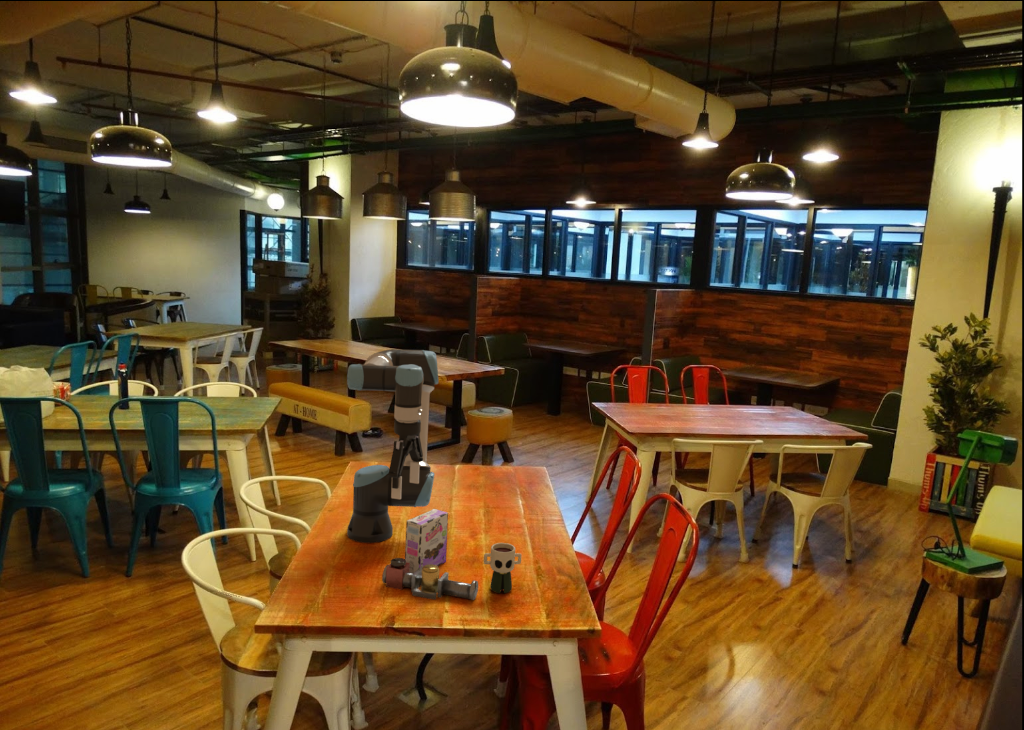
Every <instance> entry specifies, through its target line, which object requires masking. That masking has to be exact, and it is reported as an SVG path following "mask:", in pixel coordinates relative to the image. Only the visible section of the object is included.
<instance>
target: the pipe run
mask: <svg viewBox="0 0 1024 730" xmlns="http://www.w3.org/2000/svg"><path fill="white" fill-rule="evenodd" d="M409 570H410V563H407V562H406V560H405V558H402V557H395V558H392V559H391V560H390V563H389V564H386V566H385V567H384V569H383V572H382V574H381V580H382V583H383V584H385V587H386V588H391V589H397V590H400V591H401V590H403V589H404V588H411V589H410V590H411V591H410V592H411V593H412V596H413V597H419V598H423V599H428V600H429V599H430V600H437V598H442V597H443V596H444V595H447V596H452V597H456V598H461V599H462V598H463V599H468V600H471V601H475V599H476V598H477V595H478V592H479V582H478V580H475V579H474V580H472V581H471V583H468V582H467V583H466V582H462V581H458V580H457V581H456V580H451V579H449V572H446V571H445V572H444V573H443V574H442V575H441V577H439V580H438V593H433V592H428V591H423V590H421V589H420V588H421V578H422V568H419V569H418V570H417V571H416V572H415V573H414V574H413V573H409Z"/></svg>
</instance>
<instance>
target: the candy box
mask: <svg viewBox="0 0 1024 730" xmlns="http://www.w3.org/2000/svg"><path fill="white" fill-rule="evenodd" d="M448 518H449V512H447V511H444V510H441V509H436V508H432V509H431V510H428V511H427V512H424V513H421V514H420V515H417V516H415V517H412V518H410V519H407V520H406V525H405V528H406V529H405V547H404V548H405V550H404V551H405V552H404V553H405V554H404V559H405V560H406V562H407V563H410V570H409V573H413V574H414V573H415V572H416V571H417V570H418V569H419V568H423V566H425V565H428V564H434V565H437V566H438V567H439V566H441V565H443V564H444V563H446V562H447V549H448V547H447V546H448V545H447V543H448V524H449V523H448V521H449V520H448Z"/></svg>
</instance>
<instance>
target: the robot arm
mask: <svg viewBox="0 0 1024 730" xmlns="http://www.w3.org/2000/svg"><path fill="white" fill-rule="evenodd" d="M438 370H439V369H438V359H437V353H435V352H434V351H432V350H431V351H430V350H424V349H397V348H395V349H394V348H393V349H386V350H381V351H378V352H375V353H373V354H371V355H369V356H368V357H367V358H366V360H365V362H364V363H363V364H361V363H358V364H353V363H352V364H350V365H349V366H348V368H347V375H346V378H347V380H346V381H347V383H346V384H347V387H348V389H349V390H355V391H356V390H357V391H379V392H380V391H383V392H395V393H394V395H395V396H394V398H395V399H394V400H395V402H394V413H393V414H394V415H393V416H394V419H395V420H394V421H393V422H394V425H393V432H394V433H395V434H396V435H398V436H399V438H398V440H394V442H393V450H392V454H391V460H390V464H389V466H388V465H384V464H372V465H369V466H368V465H367V466H365V467H361V468H360V469H358V470H357V471H356V472H355V473H354V476H353V482H352V487H353V494H352V495H353V501H352V503H353V504H352V515H351V517H350V520H349V523H348V525H347V531H346V532H347V533H346V534H347V535H346V536H347V538H348V539H350V540H351V541H353V542H357V543H362V544H363V543H364V544H366V543H367V544H369V543H370V544H371V543H380V542H385V541H387V540H389V539H390V538H392V536H393V534H394V533H393V531H394V530H393V529H394V527H393V524H392V521H391V517H390V515H389V507H406V508H407V507H408V508H409V507H411V508H417V507H427V506H429V504H430V501H431V497H432V491H433V488H434V487H433V485H434V481H435V472H433V471H431V465H430V464H428V461H427V458H428V456H427V455H428V440H429V439H428V434H429V416H430V415H429V412H430V396H431V395H430V394H431V393H432V391H434V390H435V385H438V384H439V380H440V379H439V371H438Z"/></svg>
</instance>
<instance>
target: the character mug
mask: <svg viewBox="0 0 1024 730" xmlns="http://www.w3.org/2000/svg"><path fill="white" fill-rule="evenodd" d="M488 557H490V559H489V560H488ZM516 557H517V560H516V559H515V558H516ZM483 564H484V565H489V567H490V568H491V571H493V572H492V575H491V579H490V580H491V581H490V586H489V587H490V590H491V591H492V592H494V593H498V594H501V592H502V591H503V594H506V593H510V592H511V591H512V590H513V589H512V586H513V585H512V583H513V582H512V581H513V580H512V573H511V572H512V571H513V570H514V569H515V565H520V564H522V553H518V552H517V553H516V547H515V546H514V545H513V544H511V543H508V542H506V543H505V542H497V543H494V544H492V545H491V548H490V553H484V555H483Z"/></svg>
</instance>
